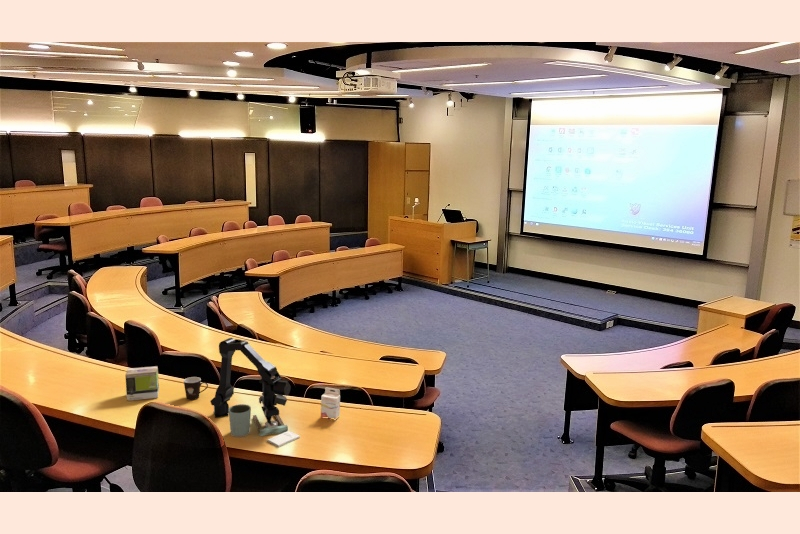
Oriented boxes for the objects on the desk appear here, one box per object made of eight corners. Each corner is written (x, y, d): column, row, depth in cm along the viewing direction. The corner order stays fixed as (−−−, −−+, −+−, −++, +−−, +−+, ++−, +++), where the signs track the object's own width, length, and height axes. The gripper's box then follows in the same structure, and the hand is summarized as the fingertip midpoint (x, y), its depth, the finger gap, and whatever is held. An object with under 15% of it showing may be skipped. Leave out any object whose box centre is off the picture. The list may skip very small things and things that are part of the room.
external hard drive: (267, 442, 258) (288, 433, 267) (278, 448, 253) (300, 438, 262) (267, 439, 258) (288, 430, 267) (278, 445, 252) (300, 435, 262)
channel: (259, 436, 262) (259, 431, 262) (252, 418, 280) (251, 413, 280) (287, 431, 268) (287, 426, 267) (278, 414, 285) (278, 409, 285)
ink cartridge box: (320, 418, 283) (320, 390, 281) (324, 414, 288) (324, 386, 285) (336, 420, 281) (336, 392, 279) (340, 416, 286) (340, 389, 283)
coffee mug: (180, 399, 300) (179, 381, 298) (192, 393, 308) (191, 375, 306) (198, 403, 295) (197, 385, 294) (209, 397, 303) (208, 379, 302)
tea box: (159, 391, 309) (158, 365, 306) (157, 398, 300) (156, 371, 297) (128, 394, 304) (127, 367, 302) (126, 401, 295) (125, 374, 292)
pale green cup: (239, 439, 258) (238, 415, 256) (224, 433, 263) (223, 409, 261) (255, 431, 267) (255, 407, 265) (240, 425, 272) (240, 402, 270)
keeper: (266, 433, 266) (266, 427, 265) (263, 427, 271) (263, 421, 271) (279, 430, 269) (279, 424, 268) (276, 425, 274) (276, 419, 273)
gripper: (290, 397, 267) (289, 428, 269) (281, 382, 283) (281, 412, 286) (266, 400, 262) (266, 431, 265) (258, 385, 279) (258, 415, 281)
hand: (268, 422), depth 274 cm, fingers closed
